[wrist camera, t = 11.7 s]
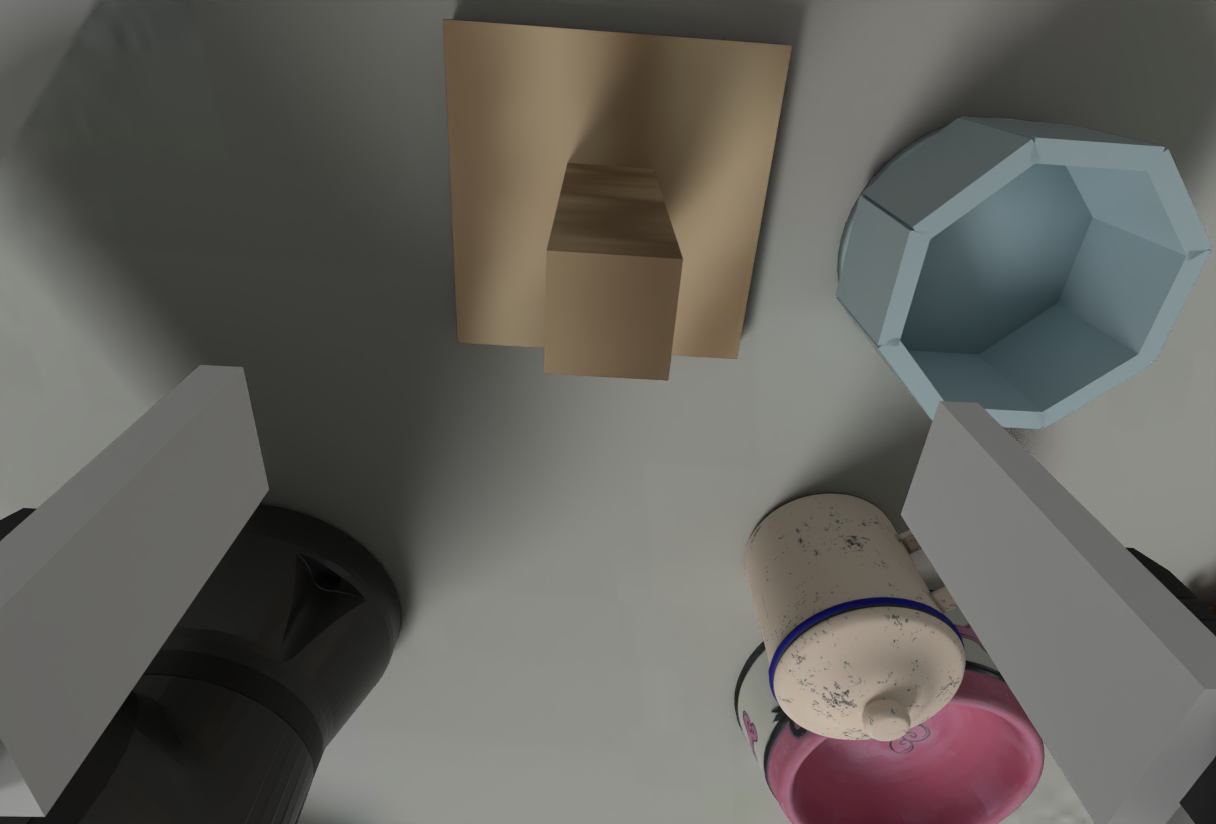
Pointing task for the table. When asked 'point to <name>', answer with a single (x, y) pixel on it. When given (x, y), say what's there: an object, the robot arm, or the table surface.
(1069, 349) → the ceramic bowl
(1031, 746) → the dog bowl
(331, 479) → the table surface
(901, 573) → the teacup with lid
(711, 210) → the oak lid
